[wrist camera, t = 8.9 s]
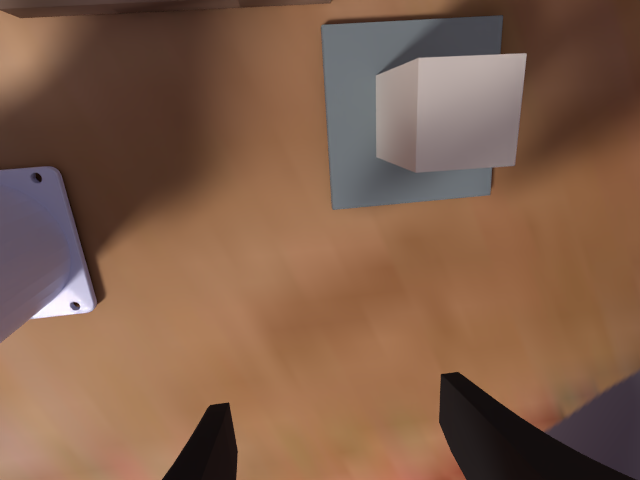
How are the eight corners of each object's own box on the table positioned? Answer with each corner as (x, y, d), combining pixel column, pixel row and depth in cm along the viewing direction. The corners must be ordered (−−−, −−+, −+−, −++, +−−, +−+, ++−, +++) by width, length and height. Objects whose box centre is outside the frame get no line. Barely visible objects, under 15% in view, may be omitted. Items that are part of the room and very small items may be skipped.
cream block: (376, 157, 20) (415, 172, 15) (375, 75, 19) (418, 57, 13) (448, 152, 21) (514, 165, 15) (452, 71, 19) (526, 53, 14)
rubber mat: (331, 207, 21) (333, 209, 21) (321, 27, 19) (322, 24, 18) (485, 193, 22) (490, 195, 22) (497, 17, 19) (502, 15, 19)
